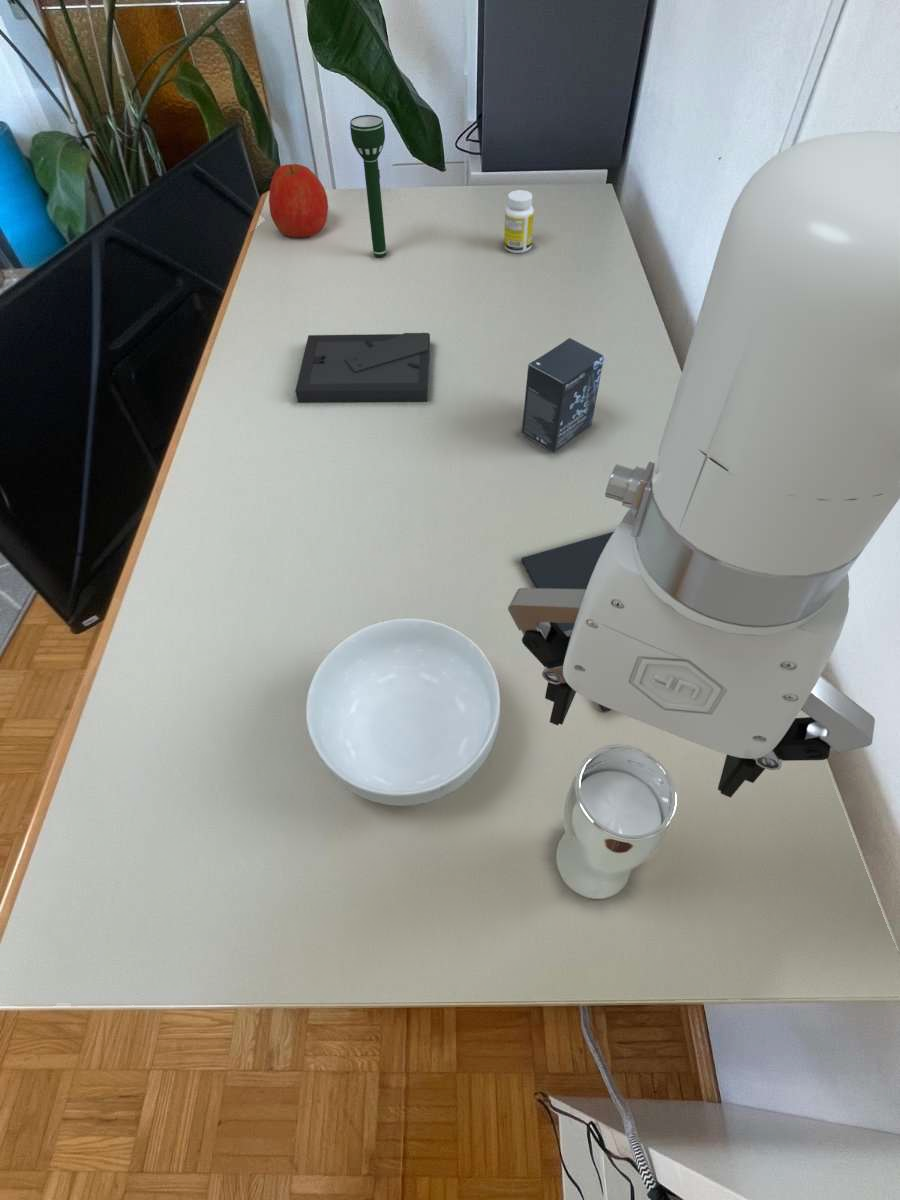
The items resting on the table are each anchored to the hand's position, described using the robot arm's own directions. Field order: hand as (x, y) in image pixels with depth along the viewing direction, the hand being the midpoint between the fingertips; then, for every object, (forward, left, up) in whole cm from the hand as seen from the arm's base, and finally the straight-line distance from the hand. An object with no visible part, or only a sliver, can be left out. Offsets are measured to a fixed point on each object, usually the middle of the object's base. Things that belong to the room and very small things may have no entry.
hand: (643, 737), depth 40 cm
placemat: (+22, -13, -23) cm, 34 cm away
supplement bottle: (+98, -34, -23) cm, 106 cm away
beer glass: (0, 0, -23) cm, 23 cm away
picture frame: (+72, 0, -23) cm, 75 cm away
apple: (+118, -1, -23) cm, 120 cm away
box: (+51, -20, -23) cm, 59 cm away
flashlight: (+104, -11, -23) cm, 107 cm away
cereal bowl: (+16, +11, -23) cm, 30 cm away
